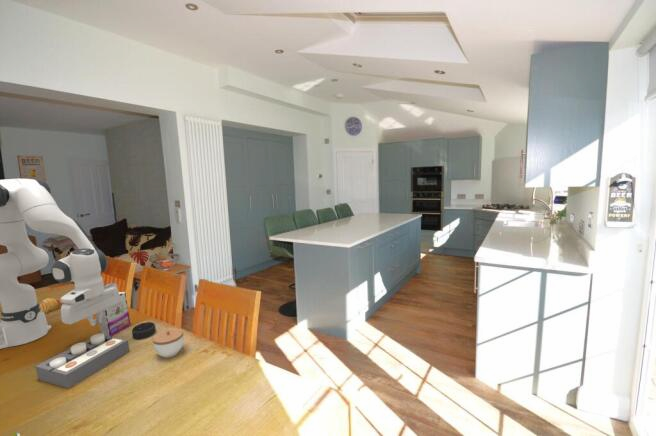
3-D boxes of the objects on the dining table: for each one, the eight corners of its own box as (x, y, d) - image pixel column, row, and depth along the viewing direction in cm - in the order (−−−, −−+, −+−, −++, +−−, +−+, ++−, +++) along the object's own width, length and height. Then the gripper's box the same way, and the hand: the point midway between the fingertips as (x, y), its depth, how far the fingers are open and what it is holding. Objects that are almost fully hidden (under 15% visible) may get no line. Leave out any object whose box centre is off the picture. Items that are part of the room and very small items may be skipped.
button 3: (89, 347, 122) (87, 338, 122) (100, 341, 126) (99, 332, 126) (96, 349, 121) (95, 339, 120) (108, 343, 125) (106, 334, 124)
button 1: (48, 373, 109) (46, 363, 109) (62, 366, 114) (60, 356, 113) (56, 376, 108) (54, 365, 107) (70, 368, 112) (68, 358, 111)
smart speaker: (127, 339, 134) (126, 330, 134) (144, 328, 143) (143, 320, 142) (144, 341, 132) (143, 332, 131) (160, 330, 141) (159, 322, 140)
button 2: (69, 357, 116) (67, 347, 115) (82, 351, 120) (80, 341, 119) (77, 359, 114) (75, 349, 114) (90, 353, 118) (88, 343, 118)
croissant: (25, 326, 156) (25, 314, 153) (16, 314, 160) (16, 302, 157) (74, 308, 175) (75, 297, 172) (65, 298, 178) (66, 287, 175)
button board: (38, 379, 109) (35, 365, 108) (101, 345, 129) (99, 333, 129) (68, 388, 104) (65, 373, 103) (129, 351, 124) (127, 338, 123)
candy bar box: (122, 324, 148) (117, 291, 145) (130, 324, 147) (126, 291, 144) (100, 336, 137) (95, 301, 134) (110, 337, 136) (104, 301, 133)
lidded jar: (189, 352, 122) (187, 329, 121) (160, 364, 115) (157, 341, 113) (178, 342, 130) (176, 321, 128) (150, 354, 122) (147, 331, 121)
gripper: (110, 280, 131) (115, 311, 133) (55, 300, 112) (62, 336, 114) (121, 281, 129) (126, 313, 131) (66, 301, 110) (73, 338, 112)
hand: (96, 323), depth 122 cm, fingers closed
